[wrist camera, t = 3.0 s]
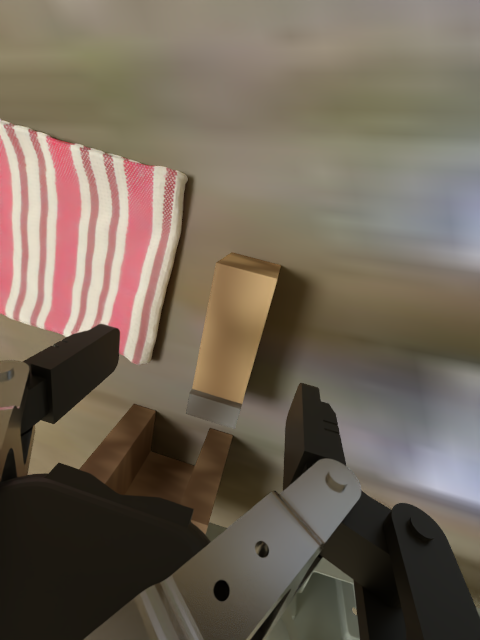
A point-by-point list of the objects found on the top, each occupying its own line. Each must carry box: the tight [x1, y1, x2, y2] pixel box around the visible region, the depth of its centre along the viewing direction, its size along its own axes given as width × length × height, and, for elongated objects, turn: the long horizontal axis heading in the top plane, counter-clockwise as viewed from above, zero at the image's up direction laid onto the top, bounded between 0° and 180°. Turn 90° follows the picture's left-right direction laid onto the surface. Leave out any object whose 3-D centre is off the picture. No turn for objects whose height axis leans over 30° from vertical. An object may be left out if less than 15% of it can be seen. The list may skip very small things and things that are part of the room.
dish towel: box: [0, 119, 188, 365], centre depth 23 cm, size 17×23×4 cm
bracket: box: [205, 523, 480, 640], centre depth 21 cm, size 28×7×20 cm, turn 79°
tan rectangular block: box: [186, 253, 281, 429], centre depth 22 cm, size 4×12×6 cm, turn 167°
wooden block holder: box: [79, 404, 233, 534], centre depth 24 cm, size 11×8×14 cm
